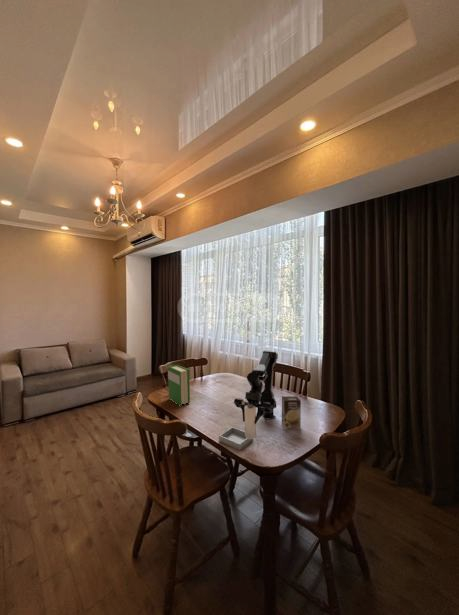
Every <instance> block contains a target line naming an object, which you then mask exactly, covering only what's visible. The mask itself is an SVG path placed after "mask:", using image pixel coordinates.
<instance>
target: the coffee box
mask: <svg viewBox="0 0 459 615" xmlns="http://www.w3.org/2000/svg"><path fill="white" fill-rule="evenodd" d="M301 402H302V401H301V399H300V397H298V396H295V395H294V396H286V395H285V396H283V395H282V396H281V426H282V427H283V430H301V429H302V427H301V426H302V425H301V423H302V422H301V420H302V419H301V418H302V417H301V416H302V415H301V413H302V412H301V410H302V409H301V408H302V407H301V405H302V403H301Z"/></svg>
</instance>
